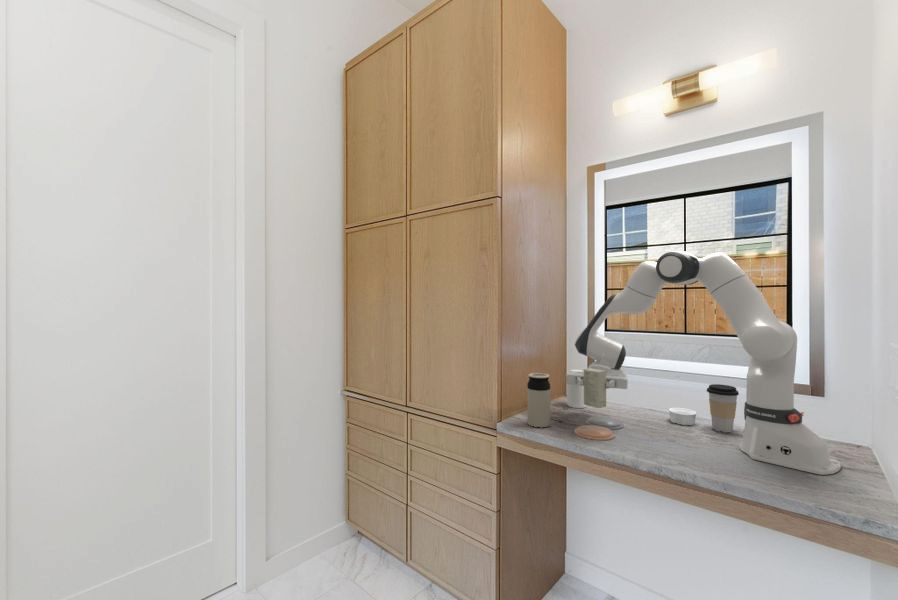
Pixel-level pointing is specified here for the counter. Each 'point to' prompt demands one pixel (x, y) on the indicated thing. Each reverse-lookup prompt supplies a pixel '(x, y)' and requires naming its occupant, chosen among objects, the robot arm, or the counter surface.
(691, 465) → the counter surface
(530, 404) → the travel mug
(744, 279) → the robot arm
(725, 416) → the coffee cup
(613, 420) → the slate dish
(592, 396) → the skincare box
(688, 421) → the ramekin
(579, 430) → the terracotta dish
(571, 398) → the pill bottle
